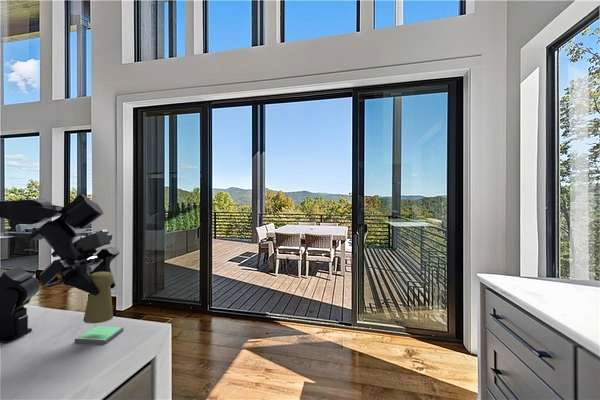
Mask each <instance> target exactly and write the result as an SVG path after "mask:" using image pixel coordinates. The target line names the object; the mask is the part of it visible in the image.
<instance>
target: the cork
mask: <svg viewBox="0 0 600 400" xmlns="http://www.w3.org/2000/svg"><path fill="white" fill-rule="evenodd" d="M89 277H90V278H91V280H92V281H93V282H94V284H95V285H96V286H97V288H98V290H99V292H100V293H99V294H98V295H96V296H95V295H93V294H90V293H88V296H87V301H86V305H85V312H84V315H83V320H82V321H83V322H84V323H86V324H102V323H105V322H108V321H111V320H112V319H113V318H114V313H113V310H114V309H113V299H112V298H113V297H112V289H111V284H112V283H113V281H114V282H115V279H114V274H113V273H112V272H111V273H110V272H96V273H93V274H89Z"/></svg>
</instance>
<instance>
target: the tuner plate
mask: <svg viewBox="0 0 600 400" xmlns="http://www.w3.org/2000/svg"><path fill="white" fill-rule="evenodd" d="M123 332H124V327H119V326H118V327H116V326H102V325H101V326H100V325H98V326H96V325H95V326H93V327H92V328H90V329H88V330H87V331H85V332H83V333H82V334H80V335H79V336H78V337H76V338H74V343H76V344H77V343H79V344H96V345H97V344H98V345H106V344H108V343H109V342H111V341H112V340H113V339H114V338H115V337H117V336H119V335H120V334H121V333H123Z"/></svg>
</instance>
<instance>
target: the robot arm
mask: <svg viewBox="0 0 600 400" xmlns="http://www.w3.org/2000/svg"><path fill="white" fill-rule="evenodd" d="M103 215H104V211H103V208H101V207H100V205H99V204H98V203H96V202H94V201H93V200H92V199H90V198H88V197H87V196H86V195H85V194H84V193H83V194H81V193H80V194H79V195H77V196H76V197H75V198H74V199H73V200H72V201H70V202H69V203H67V204H66V205H65V206H64V205H63V206H61V205H56V204H53V203H52V202H51V201H50V200H48V199H46V198H32V199H29V198H28V199H16V200H14V199H13V200H2V199H0V219H3V220H7V221H10V222H13V223H19V224H22V225H27V226H28V225H34V224H39V223H43V224H42V225H41V226H39V227H33V228H32V229H31V230H32V231H31V232H30V234H29V237H28V238H29V239H30V240H39V241H40V240H43V239H44V241H46V243H47V244H48V245H49V246H50V248H51V249H52V250H53V252H51V256H52V258H57V257H58V259H55V260H53V261H52V262H50V264H49V265H48V266H46V267H45V268H44V269H43V271H41V272H40V274H39V280H38V279H37V278H36V277H35V273H31V272H29V271H28V272H27V271H26V270H25V269H23V268H22V267H20V266H15V267H13V268H10V269H3V268H0V343H5V344H6V343H10V342H12V341H14V340H16V339H18V338H21V337H22V336H25V335H26V334H29V333H30V332H32V331H33V328H32V327H31V328H30V327H29V314H27V312H28V307H25V305H28V304H30V302H31V299H32V298H33V297H35V296H36V295H37V294H38V292H39V290H40V282H39V281H41V283H42V285H44V287H47V286H51V285H53V284H56V283H58V284H59V285H66V286H69V287H71V288H74V289H76V290H81V291H83V292H85V293H88V294H89V293H90V294H93V295H95V296H96V295H98V294H99V293H100V292H99V290H98V288H97V286H96V285H95V284H94V282H93V281H92V280H91V278H90V277H89V276H90V275H91V274H93V273H96V272H110V273H112V269H111V262H112V261H113V260H114V259H116V257H118V256H119V255H120V253H121V252H120V250H119V249H117V247H116V246H110V247H104V248H102V249H100V250H99V248H101V247H103V246H106V245H110V244H111V243H112V242H111V241H113V240H112V239H113V234H112V233H111V232H110V231H109V230H108V229H107V228H104V229H103V228H102V229H101V230H99V231H96V232H95V233H91V234H89V235H79V234H78V233H77V232H76V231H75V230H74V229H82V230H83V229H86V228H87V227H88V226H89V225H90V224H92V223H93V222H94V221H96V220H97V219H99V218H100V217H101V216H103ZM52 218H55V219H54V220H51V219H52ZM44 222H45V223H44ZM96 253H97V254H96ZM94 254H95V255H94ZM87 267H90V269H91V271H90V272H89V274H88V272H87V269H88V268H87ZM59 275H60V277H61V280H60V281H59V282H58V280H59V277H58V276H59ZM115 287H116V283H115V280H114V281H113V283H112V284H111V290H113V289H114V288H115Z"/></svg>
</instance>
